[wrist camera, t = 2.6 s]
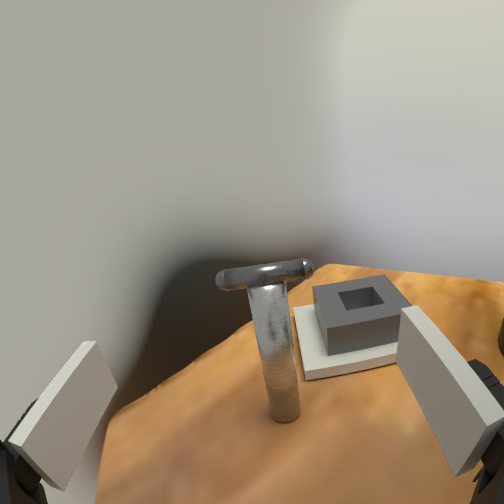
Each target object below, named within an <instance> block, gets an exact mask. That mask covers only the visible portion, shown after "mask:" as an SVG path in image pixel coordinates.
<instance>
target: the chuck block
mask: <svg viewBox="0 0 504 504" xmlns="http://www.w3.org/2000/svg"><path fill="white" fill-rule="evenodd" d="M312 288H313V299H314V304H312V305H306V306H299V307H293V310H294V318H295V323H296V329H297V334H298V340H299V345H300V351H301V357H302V363H303V369H304V374H305V380H312V379H318V378H324V377H330V376H335V375H341V374H346V373H351V372H356V371H361V370H365V369H370V368H374V367H379V366H383V365H387V364H391V363H395V362H396V361H395V360H396V353H397V345H398V337H399V328H400V317H401V308H406V307H411V306H412V305H411V304H410V303H409V302H408V300H407V299H406V298H405V297H404V296H403V295H402V294H401V292H400V291H399V290H398V289H397V288H396V287H395V286H394V285H393V283H392V282H391V281H390V280H389V279H388V278H387V277H386V276H385V275H379V276H374V277H368V278H362V279H356V280H350V281H344V282H338V283H332V284H326V285H320V286H313V287H312Z"/></svg>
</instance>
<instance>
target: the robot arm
mask: <svg viewBox="0 0 504 504" xmlns="http://www.w3.org/2000/svg"><path fill="white" fill-rule="evenodd" d="M499 345H500V348H501V351H502V353H503V354H504V318H503V321H502V325H501V329H500V332H499ZM395 361H396V363H397V365H398V367H399V368H400V370H401V372H402V374H403V375H404V377H405V379H406V381H407V383H408V385H409V386H410V388H411V390H412V392H413V394H414V396H415V397H416V399H417V401H418V403H419V405H420V407H421V409H422V411H423V413H424V415H425V417H426V418H427V420H428V422H429V424H430V426H431V428H432V430H433V432H434V434H435V436H436V438H437V440H438V442H439V444H440V447H441V449H442V451H443V453H444V455H445V457H446V459H447V461H448V463H449V466H450V468H451V470H452V472H453V474H454V477H457V476H459V475H461V474H463V473H465V472H467V471H469V470H471V469H473V468H474V467H475V466H476V464H477V463H478V462H479V460H480V459H481V460H482V462H483V464H484V466H483V467H482V468H481V470H480V471H479V472H478V474H477V475H476V476H475V478H474V480H473V482H476V480H477V479H478V478H479V479H478V482H477V485H476V488H475V491H474V494H473V497H472V499H471V502H470V504H504V386H503V385H502V384H500V381H499V380H498V379H497V378H496V376H495V377H494V374H493V373H492V372H491V370H490V369H489V368H488V367H487V366H486V365H485V364H483V363H481V362H479V361H478V360H476V359H474V360H471V361H469V362H466V361H465V359H464V358H463V357H462V356H461V355H460V353H459V352H458V351H457V350H456V349H455V347H454V346H453V345H452V344H451V343H450V342H449V340H448V339H447V338H446V337H445V336H444V335H443V333H442V332H441V331H440V330H439V329H438V328H437V326H436V325H435V324H434V323H433V322H432V321H431V320H430V319H429V317H428V316H427V315H426V314H425V313H424V312H423V311H422V310H421V309H420V308H419V306H418V305H415V306H411V307H406V308H401V317H400V328H399V337H398V345H397V353H396V360H395ZM117 387H118V386H117V384H116V382H115V380H114V378H113V376H112V374H111V372H110V370H109V368H108V366H107V363H106V361H105V359H104V357H103V355H102V353H101V350H100V348H99V346H98V343H97V341H84V342H83V343H82V344H81V346H80V347H79V348H78V349H77V350H76V352H75V353H74V354H73V355H72V356H71V358H70V359H69V360H68V361H67V363H66V364H65V365H64V366H63V368H62V369H61V370H60V371H59V373H58V374H57V375H56V376H55V378H54V379H53V380H52V382H51V383H50V384H49V386H48V387H47V388H46V389H45V391H44V392H43V393H42V395H41V396H40V397H39V398H38V399H36V400H35V401H34V402H33V403H31V405H30V406H29V407H28V409H27V410H26V413H24V414H23V415H22V417H21V420H19V421H18V422H17V424H16V425H15V426H14V428H13V430H12V431H11V432H10V434H9V435H8V437H7V438H6V439H5V441H4V442H2V441H1V440H0V504H48V503H47V499H46V495H45V491H44V488H43V486H42V484H41V483H40V480H41V478H43V480H44V481H45V482H47V483H48V484H49V485H50V486H51V487H53V488H56V489H59V490H61V491H65V489H66V487H67V485H68V483H69V481H70V479H71V476H72V475H73V472H74V470H75V468H76V466H77V464H78V462H79V460H80V458H81V456H82V454H83V452H84V450H85V448H86V446H87V444H88V442H89V440H90V438H91V436H92V434H93V432H94V431H95V429H96V427H97V425H98V423H99V421H100V419H101V417H102V415H103V413H104V411H105V410H106V407H107V406H108V404H109V402H110V400H111V398H112V397H113V394H114V393H115V391H116V389H117Z"/></svg>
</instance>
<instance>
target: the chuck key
mask: <svg viewBox="0 0 504 504" xmlns="http://www.w3.org/2000/svg"><path fill="white" fill-rule="evenodd" d="M313 273H314V266H313V264H312V262H311V261H310V260H308V259H298V260H290V261H283V262H276V263H269V264H263V265H255V266H248V267H241V268H234V269H227V270H222V271H220V272H219V273H218V274H217V276H216V284H217V286H218V287H219V288H220V289H222V290H234V289H242V288H247V291H248V296H249V302H250V307H251V312H252V317H253V323H254V328H255V333H256V338H257V343H258V349H259V354H260V359H261V364H262V369H263V374H264V379H265V384H266V389H267V394H268V399H269V404H270V409H271V414H272V417H273V418H274V419H275V420H276V421H279V422H290V421H293V420H295V419H296V418H297V417H298V416H299V414H300V401H299V391H298V382H297V373H296V364H295V355H294V346H293V338H292V329H291V321H290V313H289V305H288V297H287V290H286V282H291V281H299V280H305V279H308V278H310V277H311V276H312V275H313Z"/></svg>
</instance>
